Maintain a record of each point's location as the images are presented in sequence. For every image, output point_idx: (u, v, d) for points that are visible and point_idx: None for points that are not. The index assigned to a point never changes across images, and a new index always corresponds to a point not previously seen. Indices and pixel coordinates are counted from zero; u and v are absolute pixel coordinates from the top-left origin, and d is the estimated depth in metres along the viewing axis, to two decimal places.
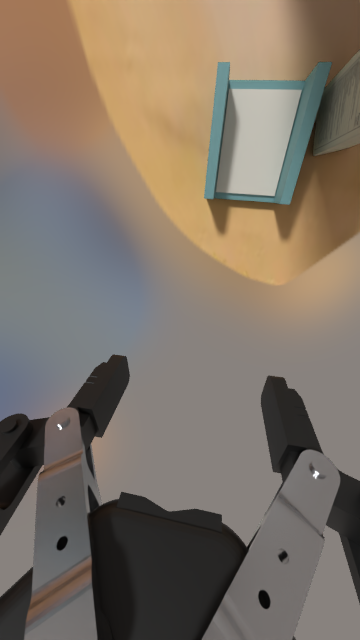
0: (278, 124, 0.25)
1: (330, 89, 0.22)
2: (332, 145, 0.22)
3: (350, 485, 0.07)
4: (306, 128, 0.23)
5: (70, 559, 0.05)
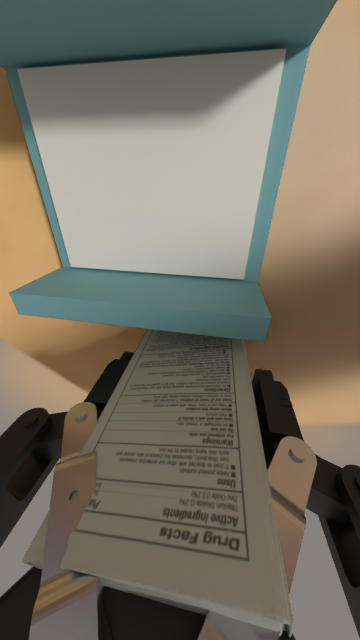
0: (191, 244, 0.11)
1: None
2: (121, 379, 0.10)
3: (327, 469, 0.07)
4: (155, 318, 0.09)
5: None
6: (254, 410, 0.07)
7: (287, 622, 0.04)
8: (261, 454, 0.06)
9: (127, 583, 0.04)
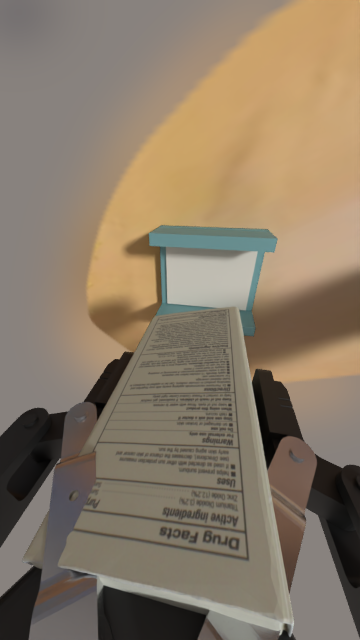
0: (223, 296, 0.26)
1: (227, 336, 0.11)
2: (121, 378, 0.10)
3: (327, 469, 0.07)
4: None
5: None
6: (254, 410, 0.07)
7: (287, 621, 0.04)
8: (261, 453, 0.06)
9: (127, 582, 0.04)
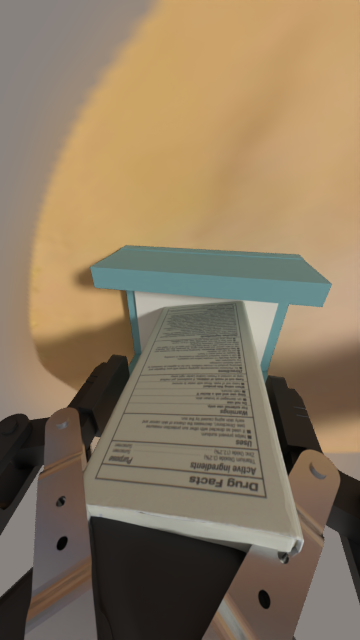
0: None
1: (236, 327, 0.12)
2: (138, 361, 0.11)
3: (350, 485, 0.07)
4: None
5: (71, 559, 0.05)
6: (264, 388, 0.08)
7: (299, 539, 0.05)
8: (272, 422, 0.07)
9: (165, 516, 0.05)
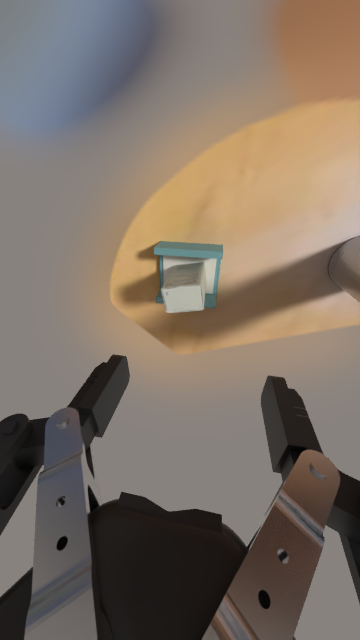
0: None
1: (199, 267, 0.37)
2: None
3: (350, 485, 0.07)
4: None
5: (71, 559, 0.05)
6: (202, 275, 0.33)
7: (200, 285, 0.30)
8: (201, 278, 0.32)
9: (179, 286, 0.31)
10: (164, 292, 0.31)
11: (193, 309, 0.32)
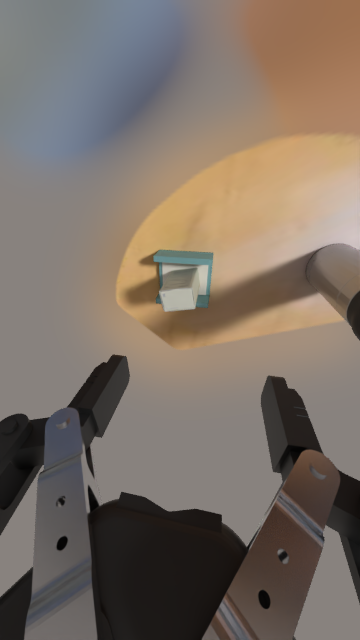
0: None
1: (192, 272, 0.43)
2: (166, 279, 0.42)
3: (350, 485, 0.07)
4: None
5: (70, 559, 0.05)
6: (194, 279, 0.39)
7: (191, 288, 0.36)
8: (193, 282, 0.38)
9: (174, 289, 0.37)
10: (161, 294, 0.37)
11: (186, 308, 0.38)
